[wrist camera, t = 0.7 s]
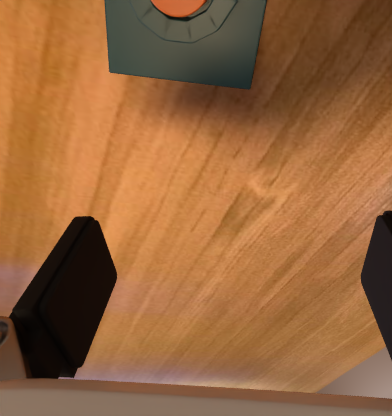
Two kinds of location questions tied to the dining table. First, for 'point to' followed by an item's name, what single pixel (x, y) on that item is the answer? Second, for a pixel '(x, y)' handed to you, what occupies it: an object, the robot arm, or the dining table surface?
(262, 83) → the dining table surface
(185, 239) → the dining table surface
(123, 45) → the teal box orange button
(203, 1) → the orange round cap
